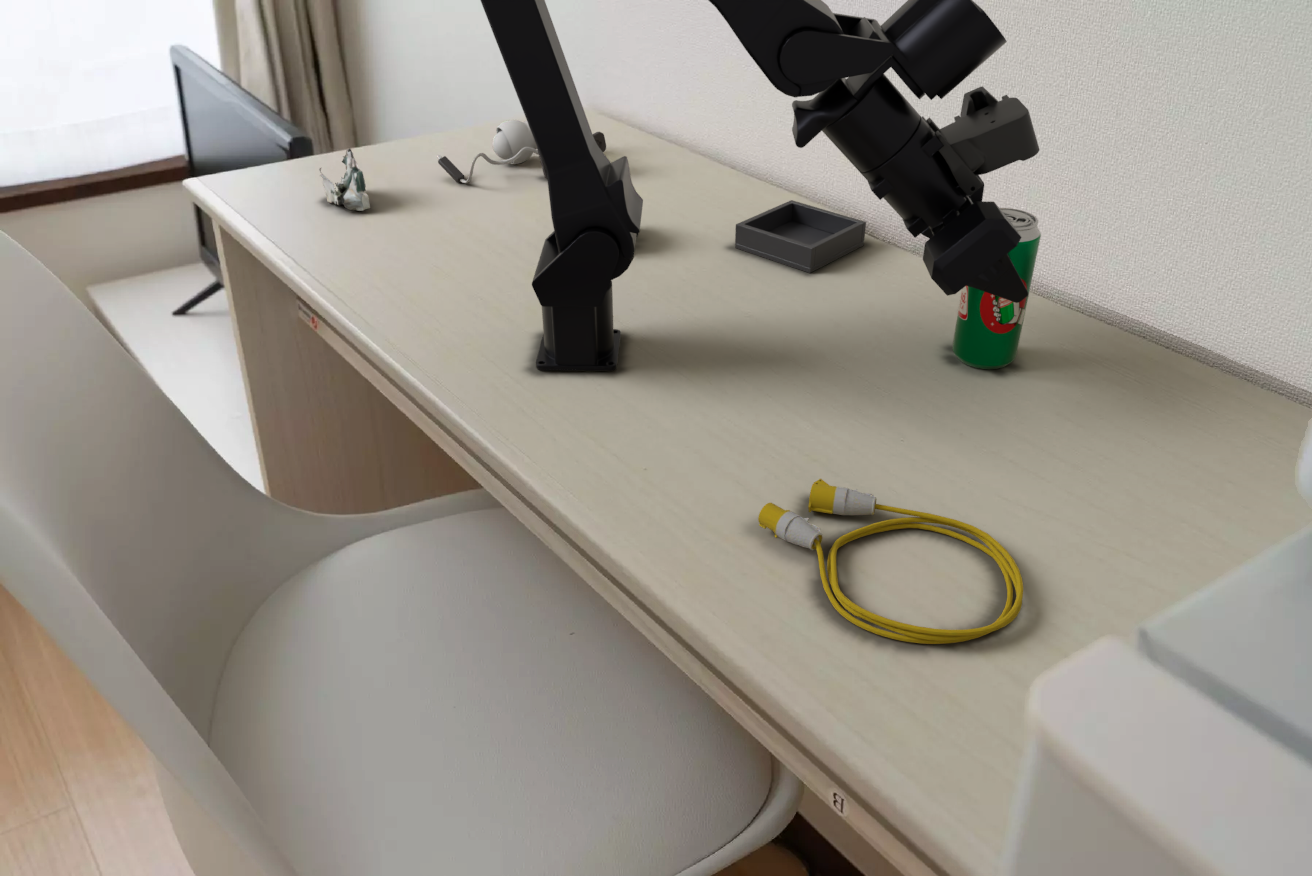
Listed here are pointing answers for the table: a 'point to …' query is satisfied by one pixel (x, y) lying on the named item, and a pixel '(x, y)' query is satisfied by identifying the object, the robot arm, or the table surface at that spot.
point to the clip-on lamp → (509, 148)
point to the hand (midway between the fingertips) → (1014, 283)
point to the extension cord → (864, 504)
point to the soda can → (997, 306)
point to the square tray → (800, 235)
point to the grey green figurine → (348, 186)
